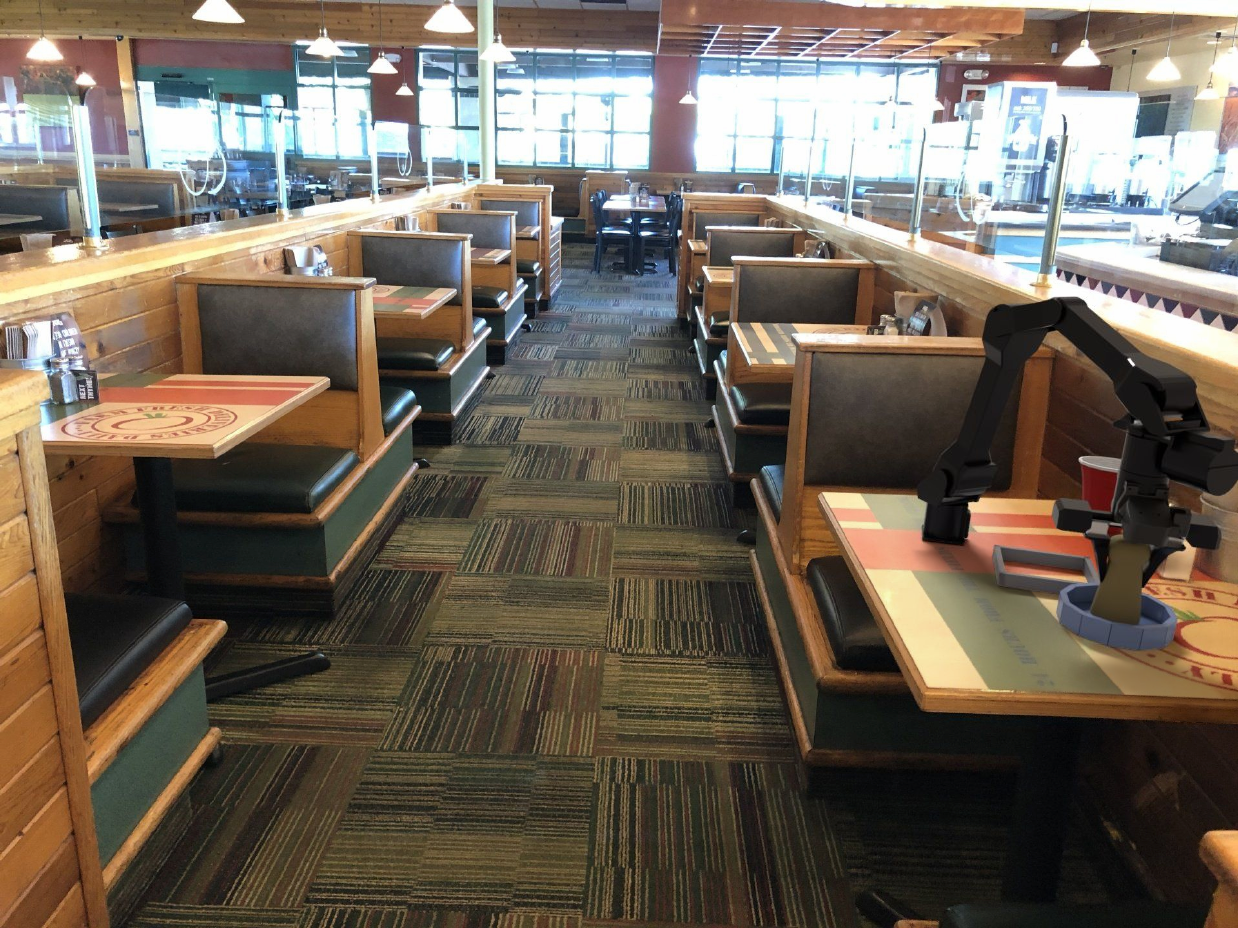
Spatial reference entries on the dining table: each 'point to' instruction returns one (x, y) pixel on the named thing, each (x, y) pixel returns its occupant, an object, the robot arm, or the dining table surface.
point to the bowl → (1146, 635)
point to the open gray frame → (1041, 559)
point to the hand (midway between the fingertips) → (1120, 584)
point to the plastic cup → (1100, 483)
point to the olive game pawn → (1121, 582)
